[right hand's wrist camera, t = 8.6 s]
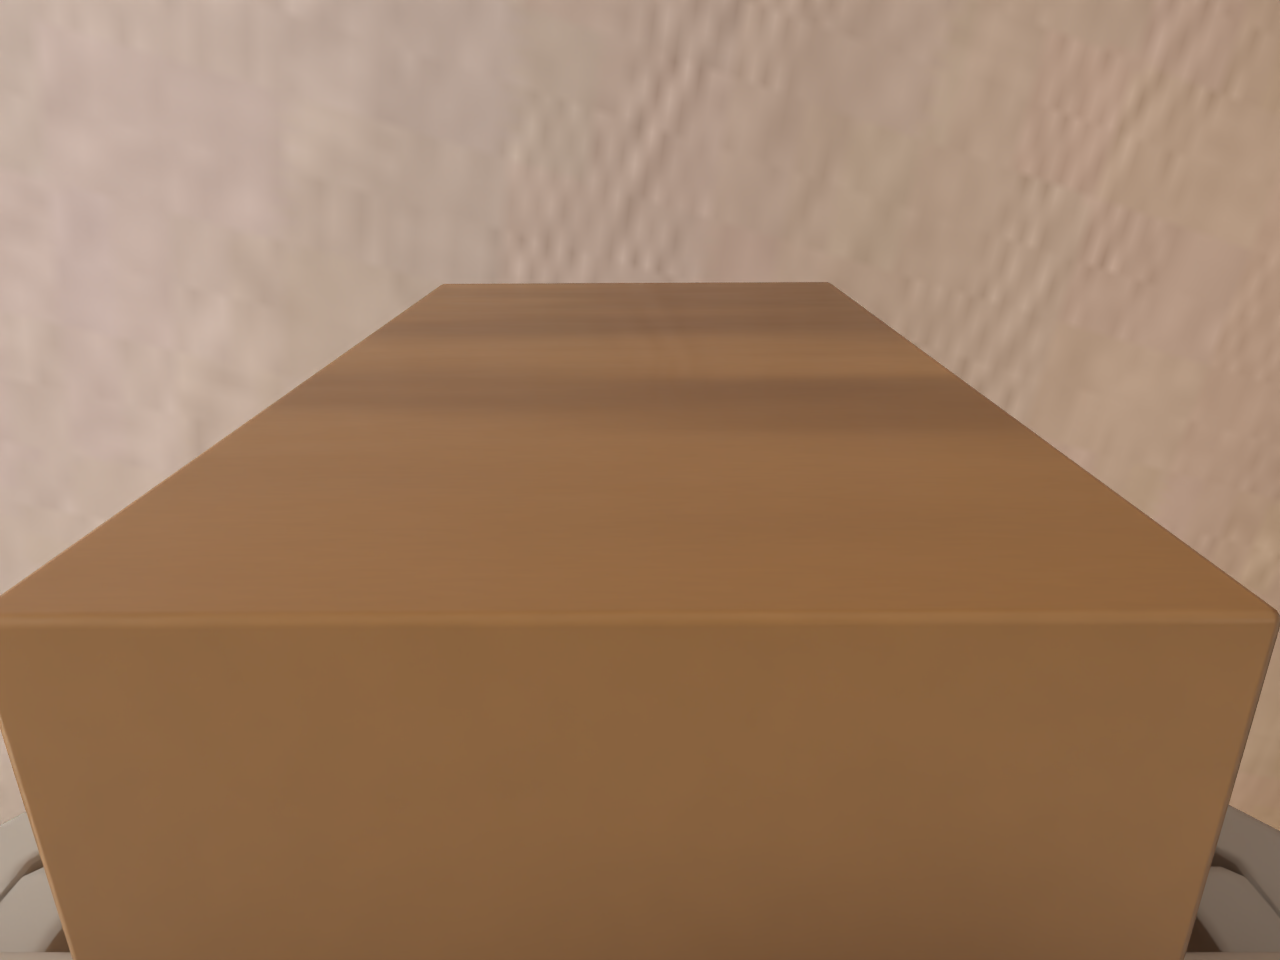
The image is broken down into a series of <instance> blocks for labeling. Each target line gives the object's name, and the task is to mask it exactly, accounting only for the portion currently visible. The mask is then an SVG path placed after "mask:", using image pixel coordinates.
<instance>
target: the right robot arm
mask: <svg viewBox="0 0 1280 960" xmlns="http://www.w3.org/2000/svg"><path fill="white" fill-rule="evenodd" d="M0 960H73V959H72V956H71V953H70V950H69V946H68V943H67V940H66V937H65V934H64V930H63V927H62V924H61V921H60V918H59V915H58V911H57V908H56V905H55V902H54V899H53V895H52V892H51V889H50V886H49V883H48V879H47V876H46V873H45V870H44V867H43V863H42V860H41V857H40V854H39V851H38V847H37V844H36V841H35V838H34V835H33V832H32V828H31V825H30V822H29V819H28V816H27V812H25V813H23V814H21V815H19V816H17V817H15V818H13V819H11V820H9V821H7V822H5V823H3V824H1V825H0ZM1184 960H1280V831H1279V830H1277V829H1275V828H1273V827H1271V826H1269V825H1267V824H1265V823H1263V822H1261V821H1259V820H1257V819H1255V818H1253V817H1251V816H1249V815H1247V814H1245V813H1243V812H1242V811H1240V810H1238V809H1236V808H1234V807H1232V806H1230V805H1228V808H1227V811H1226V815H1225V818H1224V822H1223V825H1222V829H1221V832H1220V836H1219V839H1218V843H1217V846H1216V850H1215V853H1214V857H1213V860H1212V864H1211V867H1210V870H1209V874H1208V877H1207V881H1206V884H1205V888H1204V891H1203V895H1202V898H1201V902H1200V905H1199V909H1198V912H1197V916H1196V919H1195V923H1194V926H1193V929H1192V933H1191V936H1190V940H1189V943H1188V947H1187V950H1186V954H1185V957H1184Z"/></svg>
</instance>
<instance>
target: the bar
mask: <svg viewBox="0 0 1280 960" xmlns="http://www.w3.org/2000/svg"><path fill="white" fill-rule="evenodd" d="M1279 628H1280V616H1279V614H1278V612H1277V610H1276V609H1274V608H1273V607H1271V606H1270V605H1269V604H1267V603H1266V602H1265V601H1263V600H1262V599H1260V598H1259V597H1258V596H1256V595H1255V594H1254V593H1252V592H1251V591H1250V590H1248V589H1247V588H1245V587H1244V586H1243V585H1241V584H1240V583H1239V582H1237V581H1236V580H1235V579H1233V578H1232V577H1230V576H1229V575H1228V574H1226V573H1225V572H1224V571H1222V570H1221V569H1220V568H1218V567H1217V566H1215V565H1214V564H1213V563H1211V562H1210V561H1209V560H1207V559H1206V558H1205V557H1203V556H1202V555H1200V554H1199V553H1198V552H1196V551H1195V550H1194V549H1192V548H1191V547H1190V546H1188V545H1187V544H1185V543H1184V542H1183V541H1181V540H1180V539H1179V538H1177V537H1176V536H1175V535H1173V534H1172V533H1170V532H1169V531H1168V530H1166V529H1165V528H1164V527H1162V526H1161V525H1159V524H1158V523H1157V522H1155V521H1154V520H1153V519H1151V518H1150V517H1149V516H1147V515H1146V514H1144V513H1143V512H1142V511H1140V510H1139V509H1138V508H1136V507H1135V506H1134V505H1132V504H1131V503H1129V502H1128V501H1127V500H1125V499H1124V498H1123V497H1121V496H1120V495H1119V494H1117V493H1116V492H1114V491H1113V490H1112V489H1110V488H1109V487H1108V486H1106V485H1105V484H1104V483H1102V482H1101V481H1099V480H1098V479H1097V478H1095V477H1094V476H1093V475H1091V474H1090V473H1089V472H1087V471H1086V470H1084V469H1083V468H1082V467H1080V466H1079V465H1078V464H1076V463H1075V462H1074V461H1072V460H1071V459H1069V458H1068V457H1067V456H1065V455H1064V454H1063V453H1061V452H1060V451H1058V450H1057V449H1056V448H1054V447H1053V446H1052V445H1050V444H1049V443H1048V442H1046V441H1045V440H1043V439H1042V438H1041V437H1039V436H1038V435H1037V434H1035V433H1034V432H1033V431H1031V430H1030V429H1028V428H1027V427H1026V426H1024V425H1023V424H1022V423H1020V422H1019V421H1018V420H1016V419H1015V418H1013V417H1012V416H1011V415H1009V414H1008V413H1007V412H1005V411H1004V410H1003V409H1001V408H1000V407H998V406H997V405H996V404H994V403H993V402H992V401H990V400H989V399H988V398H986V397H985V396H983V395H982V394H981V393H979V392H978V391H977V390H975V389H974V388H973V387H971V386H970V385H968V384H967V383H966V382H964V381H963V380H962V379H960V378H959V377H957V376H956V375H955V374H953V373H952V372H951V371H949V370H948V369H947V368H945V367H944V366H942V365H941V364H940V363H938V362H937V361H936V360H934V359H933V358H932V357H930V356H929V355H927V354H926V353H925V352H923V351H922V350H921V349H919V348H918V347H917V346H915V345H914V344H912V343H911V342H910V341H908V340H907V339H906V338H904V337H903V336H902V335H900V334H899V333H897V332H896V331H895V330H893V329H892V328H891V327H889V326H888V325H887V324H885V323H884V322H882V321H881V320H880V319H878V318H877V317H876V316H874V315H873V314H872V313H870V312H869V311H867V310H866V309H865V308H863V307H862V306H861V305H859V304H858V303H856V302H855V301H854V300H852V299H851V298H850V297H848V296H847V295H846V294H844V293H843V292H841V291H840V290H839V289H837V288H836V287H835V286H833V285H832V284H831V283H828V282H780V283H558V284H443V285H441V286H439V287H438V288H436V289H435V290H434V291H432V292H431V293H429V294H428V295H427V296H425V297H424V298H422V299H421V300H419V301H418V302H417V303H415V304H414V305H412V306H411V307H409V308H408V309H407V310H405V311H404V312H402V313H401V314H400V315H398V316H397V317H395V318H394V319H392V320H391V321H390V322H388V323H387V324H385V325H384V326H383V327H381V328H380V329H378V330H377V331H375V332H374V333H373V334H371V335H370V336H368V337H367V338H365V339H364V340H363V341H361V342H360V343H358V344H357V345H356V346H354V347H353V348H351V349H350V350H348V351H347V352H346V353H344V354H343V355H341V356H340V357H339V358H337V359H336V360H334V361H333V362H331V363H330V364H329V365H327V366H326V367H324V368H323V369H321V370H320V371H319V372H317V373H316V374H314V375H313V376H312V377H310V378H309V379H307V380H306V381H304V382H303V383H302V384H300V385H299V386H297V387H296V388H295V389H293V390H292V391H290V392H289V393H287V394H286V395H285V396H283V397H282V398H280V399H279V400H277V401H276V402H275V403H273V404H272V405H270V406H269V407H268V408H266V409H265V410H263V411H262V412H260V413H259V414H258V415H256V416H255V417H253V418H252V419H250V420H249V421H248V422H246V423H245V424H243V425H242V426H241V427H239V428H238V429H236V430H235V431H233V432H232V433H231V434H229V435H228V436H226V437H225V438H224V439H222V440H221V441H219V442H218V443H216V444H215V445H214V446H212V447H211V448H209V449H208V450H206V451H205V452H204V453H202V454H201V455H199V456H198V457H197V458H195V459H194V460H192V461H191V462H189V463H188V464H187V465H185V466H184V467H182V468H181V469H180V470H178V471H177V472H175V473H174V474H172V475H171V476H170V477H168V478H167V479H165V480H164V481H162V482H161V483H160V484H158V485H157V486H155V487H154V488H153V489H151V490H150V491H148V492H147V493H145V494H144V495H143V496H141V497H140V498H138V499H137V500H135V501H134V502H133V503H131V504H130V505H128V506H127V507H126V508H124V509H123V510H121V511H120V512H118V513H117V514H116V515H114V516H113V517H111V518H110V519H109V520H107V521H106V522H104V523H103V524H101V525H100V526H99V527H97V528H96V529H94V530H93V531H91V532H90V533H89V534H87V535H86V536H84V537H83V538H82V539H80V540H79V541H77V542H76V543H74V544H73V545H72V546H70V547H69V548H67V549H66V550H65V551H63V552H62V553H60V554H59V555H57V556H56V557H55V558H53V559H52V560H50V561H49V562H47V563H46V564H45V565H43V566H42V567H40V568H39V569H38V570H36V571H35V572H33V573H32V574H30V575H29V576H28V577H26V578H25V579H23V580H22V581H21V582H19V583H18V584H16V585H15V586H13V587H12V588H11V589H9V590H8V591H6V592H5V593H3V594H2V595H1V596H0V729H1V733H2V736H3V739H4V742H5V745H6V749H7V752H8V755H9V758H10V761H11V764H12V768H13V771H14V774H15V777H16V780H17V784H18V787H19V790H20V793H21V796H22V800H23V803H24V806H25V809H26V812H27V816H28V819H29V822H30V825H31V828H32V832H33V835H34V838H35V841H36V844H37V847H38V851H39V854H40V857H41V860H42V863H43V867H44V870H45V873H46V876H47V879H48V883H49V886H50V889H51V892H52V895H53V899H54V902H55V905H56V908H57V911H58V915H59V918H60V921H61V924H62V927H63V930H64V934H65V937H66V940H67V943H68V946H69V950H70V953H71V956H72V959H73V960H1184V957H1185V954H1186V950H1187V947H1188V943H1189V940H1190V936H1191V933H1192V929H1193V926H1194V923H1195V919H1196V916H1197V912H1198V909H1199V905H1200V902H1201V898H1202V895H1203V891H1204V888H1205V884H1206V881H1207V877H1208V874H1209V870H1210V867H1211V864H1212V860H1213V857H1214V853H1215V850H1216V846H1217V843H1218V839H1219V836H1220V832H1221V829H1222V825H1223V822H1224V818H1225V815H1226V811H1227V808H1228V805H1229V801H1230V798H1231V794H1232V791H1233V787H1234V784H1235V780H1236V777H1237V773H1238V770H1239V766H1240V763H1241V759H1242V756H1243V752H1244V749H1245V746H1246V742H1247V739H1248V735H1249V732H1250V728H1251V725H1252V721H1253V718H1254V714H1255V711H1256V707H1257V704H1258V700H1259V697H1260V693H1261V690H1262V687H1263V683H1264V680H1265V676H1266V673H1267V669H1268V666H1269V662H1270V659H1271V655H1272V652H1273V648H1274V645H1275V641H1276V638H1277V634H1278V631H1279Z"/></svg>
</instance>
